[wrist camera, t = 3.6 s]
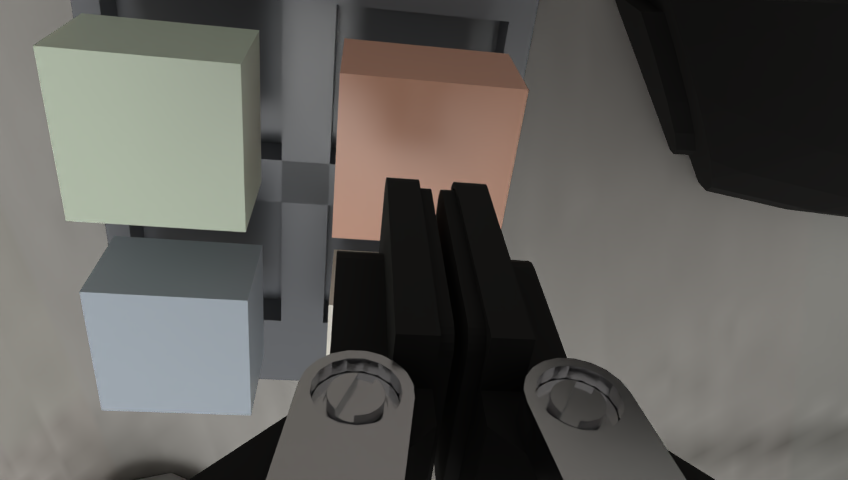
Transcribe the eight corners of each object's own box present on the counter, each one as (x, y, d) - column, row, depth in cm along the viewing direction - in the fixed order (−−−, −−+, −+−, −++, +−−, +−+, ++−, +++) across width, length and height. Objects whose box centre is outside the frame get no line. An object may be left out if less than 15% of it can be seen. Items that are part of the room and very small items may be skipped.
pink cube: (500, 40, 18) (528, 90, 14) (477, 178, 20) (497, 248, 17) (346, 25, 17) (339, 73, 14) (339, 167, 19) (331, 237, 16)
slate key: (268, 223, 20) (247, 300, 17) (269, 328, 22) (250, 415, 19) (127, 214, 20) (79, 291, 16) (142, 322, 22) (101, 410, 19)
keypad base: (537, -96, 19) (555, -86, 17) (458, 347, 27) (464, 387, 25) (83, -150, 17) (48, -146, 16) (146, 333, 26) (128, 373, 24)
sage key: (265, 17, 17) (240, 64, 14) (267, 162, 19) (245, 232, 16) (99, 1, 17) (32, 45, 13) (119, 151, 19) (65, 220, 15)
